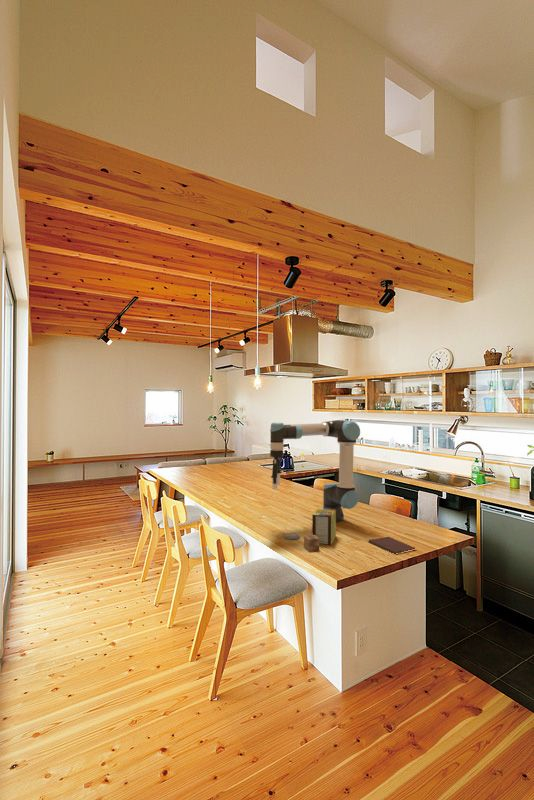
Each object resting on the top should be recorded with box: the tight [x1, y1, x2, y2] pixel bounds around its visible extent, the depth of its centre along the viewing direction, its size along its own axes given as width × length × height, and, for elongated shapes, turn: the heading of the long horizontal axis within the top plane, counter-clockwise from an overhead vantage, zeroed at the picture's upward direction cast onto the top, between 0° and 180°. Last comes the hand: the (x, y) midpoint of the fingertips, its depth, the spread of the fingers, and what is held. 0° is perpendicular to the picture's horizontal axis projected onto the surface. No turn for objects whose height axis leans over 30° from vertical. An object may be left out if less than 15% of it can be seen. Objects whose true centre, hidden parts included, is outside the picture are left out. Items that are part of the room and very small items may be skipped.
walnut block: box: [303, 534, 320, 552], centre depth 204 cm, size 6×6×6 cm
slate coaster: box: [283, 532, 301, 541], centre depth 221 cm, size 9×9×1 cm
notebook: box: [368, 536, 416, 555], centre depth 209 cm, size 15×20×2 cm
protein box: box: [311, 507, 337, 546], centre depth 218 cm, size 10×15×16 cm
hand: (276, 486), depth 226 cm, fingers open, 13 cm apart
